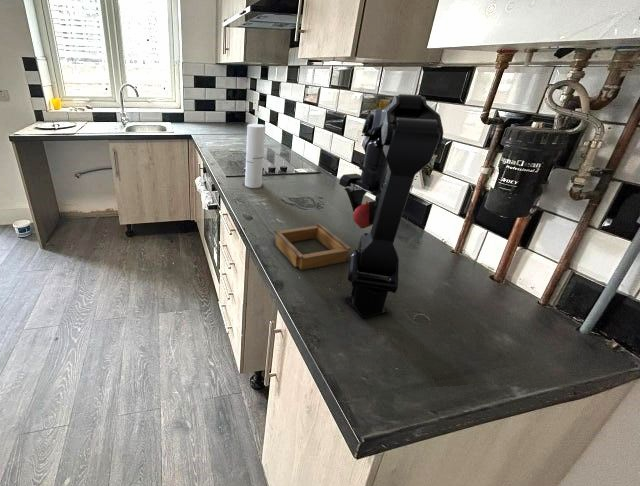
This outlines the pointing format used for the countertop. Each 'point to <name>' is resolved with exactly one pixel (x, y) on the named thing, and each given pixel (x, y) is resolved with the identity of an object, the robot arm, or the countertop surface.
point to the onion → (362, 215)
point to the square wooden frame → (311, 260)
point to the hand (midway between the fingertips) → (363, 219)
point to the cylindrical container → (254, 155)
